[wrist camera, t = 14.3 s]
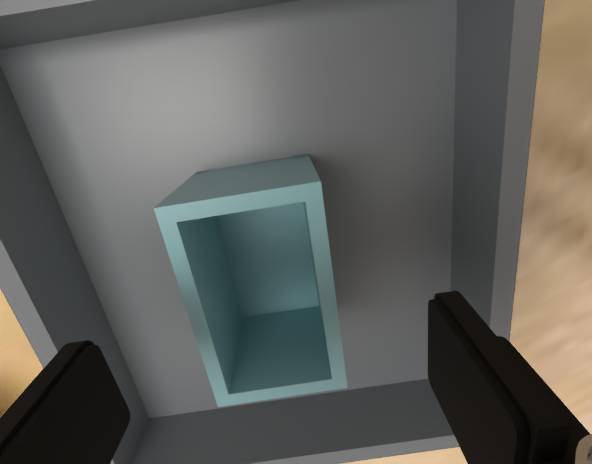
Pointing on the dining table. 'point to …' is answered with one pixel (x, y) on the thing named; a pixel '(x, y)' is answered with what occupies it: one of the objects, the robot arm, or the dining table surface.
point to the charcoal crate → (256, 148)
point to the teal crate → (257, 278)
